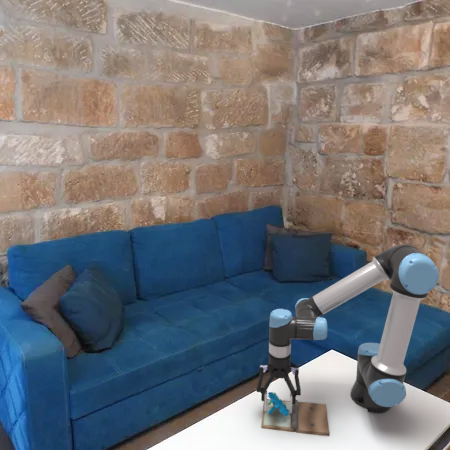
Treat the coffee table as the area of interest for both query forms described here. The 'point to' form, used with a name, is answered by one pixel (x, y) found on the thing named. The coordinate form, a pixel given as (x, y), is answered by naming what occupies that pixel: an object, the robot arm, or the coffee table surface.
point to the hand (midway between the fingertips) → (278, 409)
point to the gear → (277, 404)
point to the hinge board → (298, 418)
